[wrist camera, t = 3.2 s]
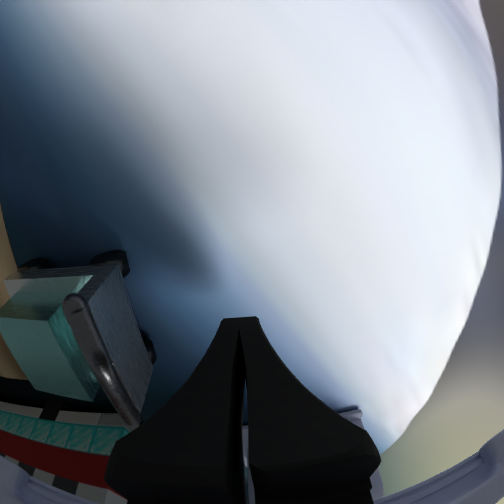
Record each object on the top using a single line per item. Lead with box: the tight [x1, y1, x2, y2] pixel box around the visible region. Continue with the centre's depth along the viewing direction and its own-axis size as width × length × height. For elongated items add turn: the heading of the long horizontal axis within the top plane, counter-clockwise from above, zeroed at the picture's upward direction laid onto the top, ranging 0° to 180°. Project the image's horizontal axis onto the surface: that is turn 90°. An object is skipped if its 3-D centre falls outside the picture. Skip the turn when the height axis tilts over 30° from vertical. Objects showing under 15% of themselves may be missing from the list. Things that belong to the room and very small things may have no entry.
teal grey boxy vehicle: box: [0, 250, 157, 426], centre depth 11 cm, size 7×7×5 cm
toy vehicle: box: [0, 399, 140, 504], centre depth 12 cm, size 8×30×15 cm, turn 105°
